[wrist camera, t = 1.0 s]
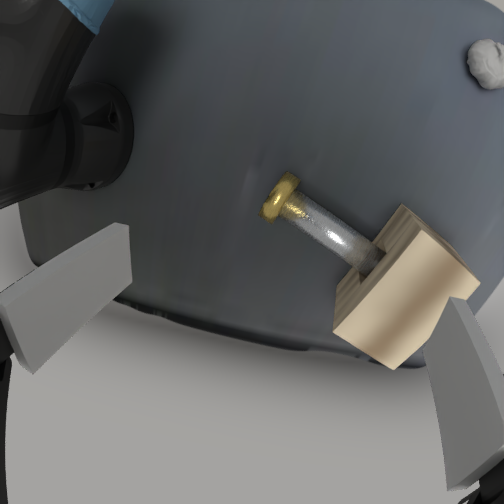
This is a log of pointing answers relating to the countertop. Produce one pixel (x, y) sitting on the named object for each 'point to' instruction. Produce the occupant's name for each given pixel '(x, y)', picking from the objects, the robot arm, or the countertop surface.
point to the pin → (320, 225)
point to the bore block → (401, 291)
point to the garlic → (487, 63)
